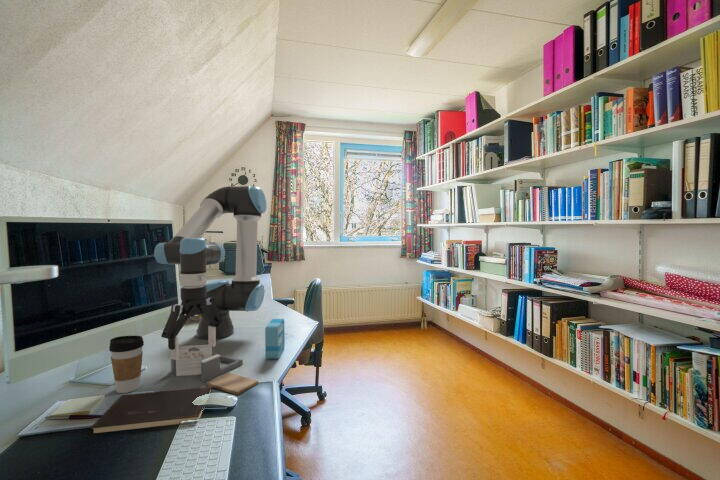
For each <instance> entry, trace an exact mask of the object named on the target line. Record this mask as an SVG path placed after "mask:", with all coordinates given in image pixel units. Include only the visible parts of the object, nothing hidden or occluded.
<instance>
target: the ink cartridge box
mask: <svg viewBox="0 0 720 480" xmlns="http://www.w3.org/2000/svg"><path fill="white" fill-rule="evenodd" d="M193 348H196V349H198V350H191V349H193ZM189 349H190V351H189ZM212 352H213V346H212V344H193V345H180V346H179V360H176V372H175V375H176V377H182V376H183V377H184V376H196V375H197V376H198V375H199V376H200V375H201V361H202V360H204V359H207V358H209V357H212Z"/></svg>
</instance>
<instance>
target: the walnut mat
mask: <svg viewBox="0 0 720 480" xmlns="http://www.w3.org/2000/svg"><path fill="white" fill-rule="evenodd" d="M205 384H206V386H207V387H212V388H215V389H217V390H221V391H224V392H227V393H230V394H233V395H240V394H242V393H243V392H246V391H247V390H249V389H251V388H252V387H255V386H256V385H258V384H259V380H256V379H252V378H249V377H245V376H242V375H238V374H236V373H235V374H234V373H231V372H229V371H227V372H225V373H223V374H221V375H219V376H217V377H214V378H212V379H210V380H208V381H206V382H205Z"/></svg>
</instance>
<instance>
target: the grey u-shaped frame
mask: <svg viewBox="0 0 720 480" xmlns="http://www.w3.org/2000/svg"><path fill="white" fill-rule="evenodd" d="M189 351H191V349H189ZM169 354H170V355H171V352H170V353H169ZM221 362H224V363H228V364H227V365H224V366H221ZM243 364H244V361H243V359H241V358H238V357H232V356H228V355H224V354H221V353H217V352H213V351H212V357H209V358H207V359H204V360H202V361H201V374H200V375H201V382H202V383H206V382H208V381H210V380H212V379H215V378H217V377H219V376H221V375H223V374H225V373H227V372H229V371H232V370H234V369H236V368H237V367H240V366H242V365H243ZM170 373H173V374H175V373H176V360H174V359H171V358H170Z"/></svg>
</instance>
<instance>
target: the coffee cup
mask: <svg viewBox="0 0 720 480" xmlns="http://www.w3.org/2000/svg"><path fill="white" fill-rule="evenodd" d="M144 345H145V342H144V338H143V336H140V335H122V336H121V335H120V336H117V337H113V338H111V339H110V341H109V348H108V350H109V352H111V353H110V354H111V357H110V360H111V367H112V372H113V379H114V386H115V392H116V393H117V394H129V393H131V392H134V391H136V390H138V389H139V388H140V386H141V378H142V377H141V376H142V367H143V366H142V365H143V364H142V363H143V346H144Z"/></svg>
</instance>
